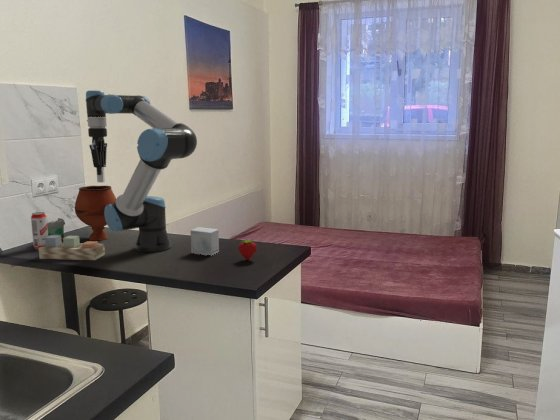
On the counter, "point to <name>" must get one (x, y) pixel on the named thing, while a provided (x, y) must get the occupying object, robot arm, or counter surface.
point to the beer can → (39, 229)
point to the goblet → (94, 208)
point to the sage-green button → (71, 241)
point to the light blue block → (53, 241)
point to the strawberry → (247, 249)
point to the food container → (56, 228)
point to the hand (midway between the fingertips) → (101, 182)
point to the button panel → (71, 252)
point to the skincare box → (204, 241)
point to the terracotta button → (90, 244)
